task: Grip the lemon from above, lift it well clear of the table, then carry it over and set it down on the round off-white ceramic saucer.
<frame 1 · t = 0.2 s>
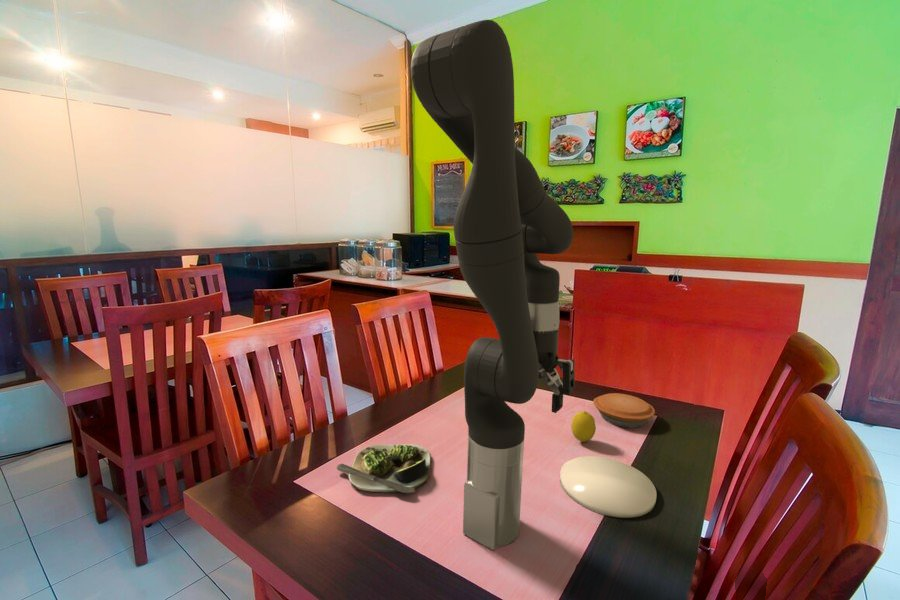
hand: (534, 404, 80), 17 cm above the table, tool pointing down, fingers open, 8 cm apart
salad plate: (393, 473, 87), on the table
saucer: (606, 486, 83), on the table
lemon: (582, 442, 100), on the table
pie: (622, 418, 114), on the table
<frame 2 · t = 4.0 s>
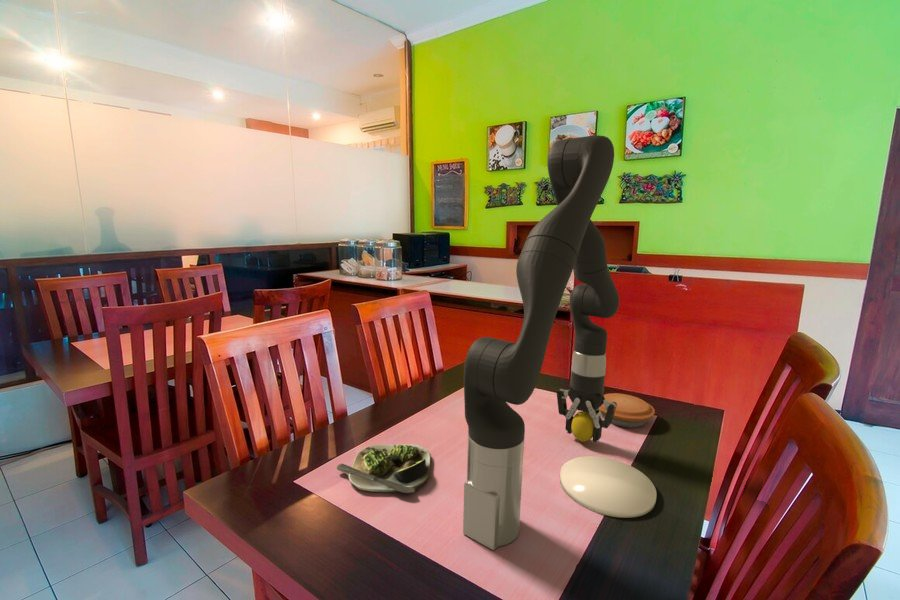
hand: (582, 436, 100), 2 cm above the table, tool pointing down, fingers closed on lemon, 5 cm apart
lemon: (582, 442, 100), on the table, touching gripper
everything else where it was.
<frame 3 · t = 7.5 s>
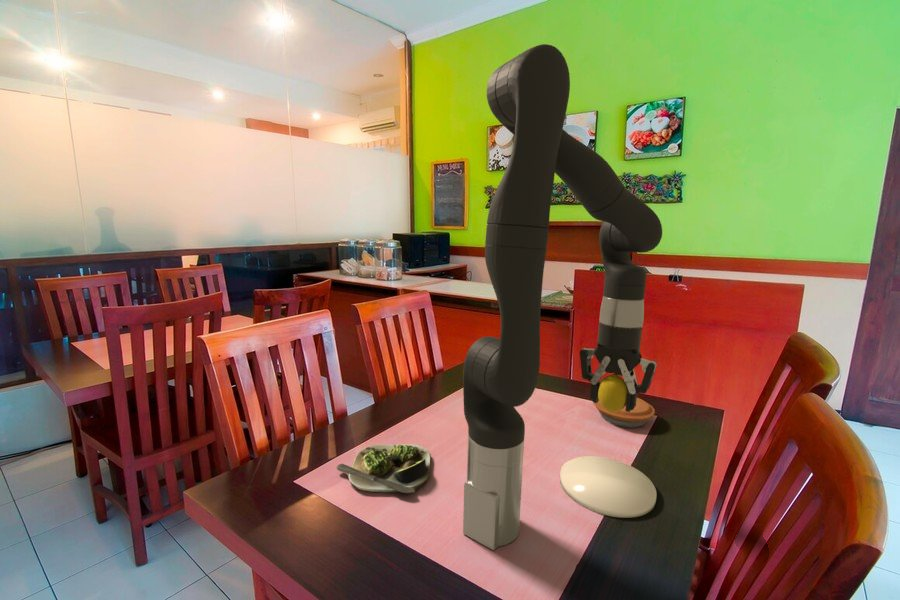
hand: (612, 405, 80), 17 cm above the table, tool pointing down, fingers closed on lemon, 5 cm apart
lemon: (611, 413, 81), point 16 cm above the table, touching gripper
everything else where it was.
when the fingers open (4 cm above the table, at t = 11.0 s): lemon drops 1 cm, resting on saucer.
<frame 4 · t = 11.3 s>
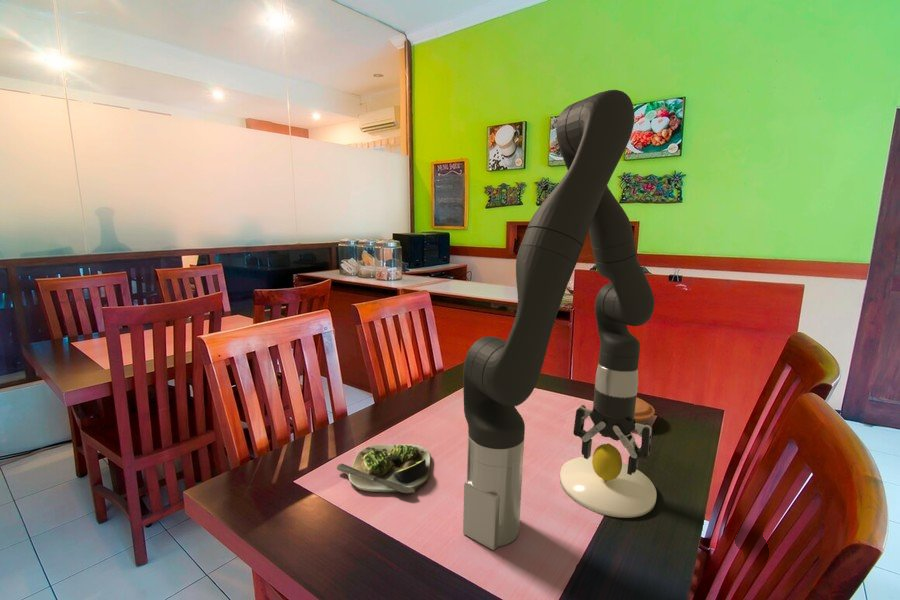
hand: (608, 464, 82), 5 cm above the table, tool pointing down, fingers open, 8 cm apart
lemon: (605, 481, 83), point 1 cm above the table, touching saucer
everything else where it was.
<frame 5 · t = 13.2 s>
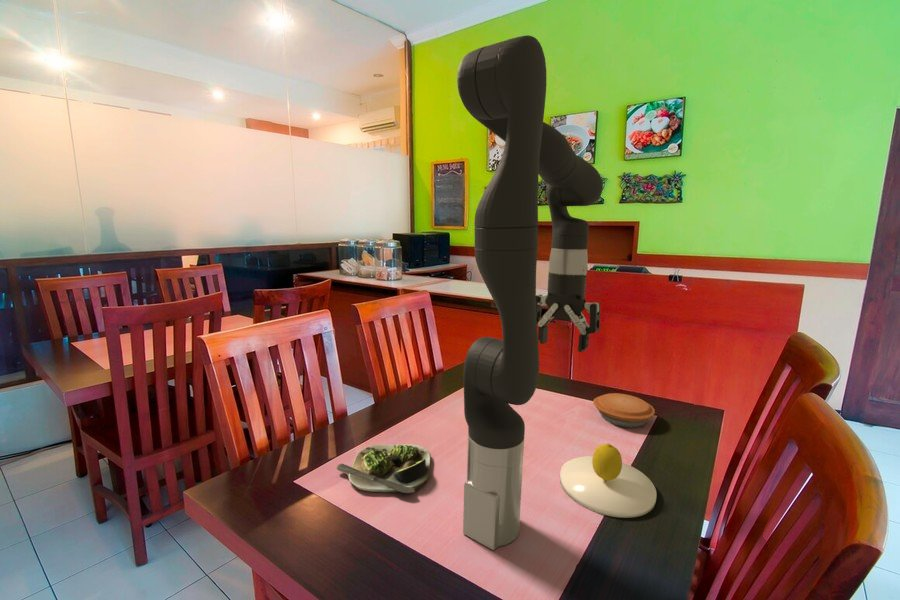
hand: (562, 347, 88), 26 cm above the table, tool pointing down, fingers open, 8 cm apart
nothing on the table moved.
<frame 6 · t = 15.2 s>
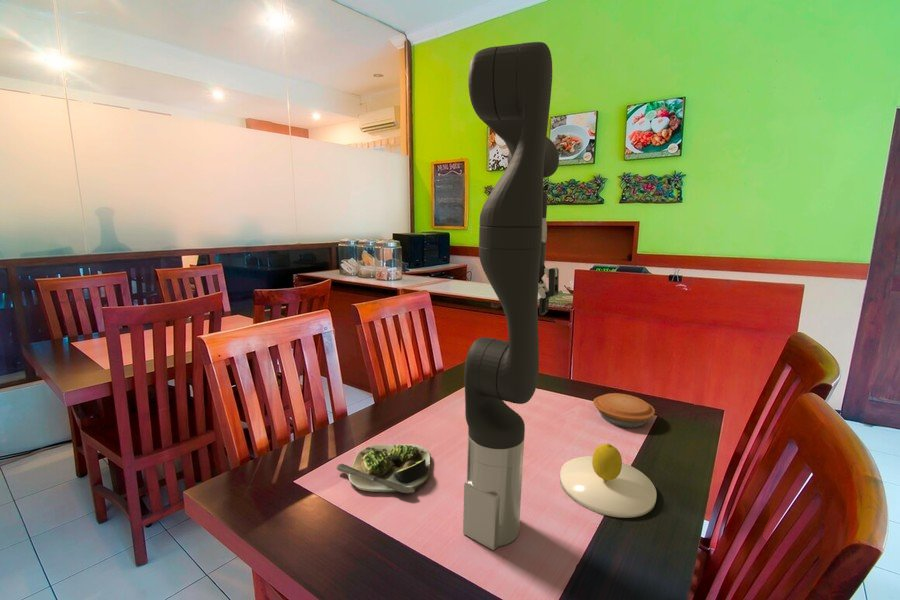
hand: (524, 311, 94), 32 cm above the table, tool pointing down, fingers open, 8 cm apart
nothing on the table moved.
at the end: lemon inside the target area on the saucer (0.3 cm from its centre), point 1.0 cm above the saucer's base; the gripper is holding nothing; lemon moved 17.1 cm from its start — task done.
